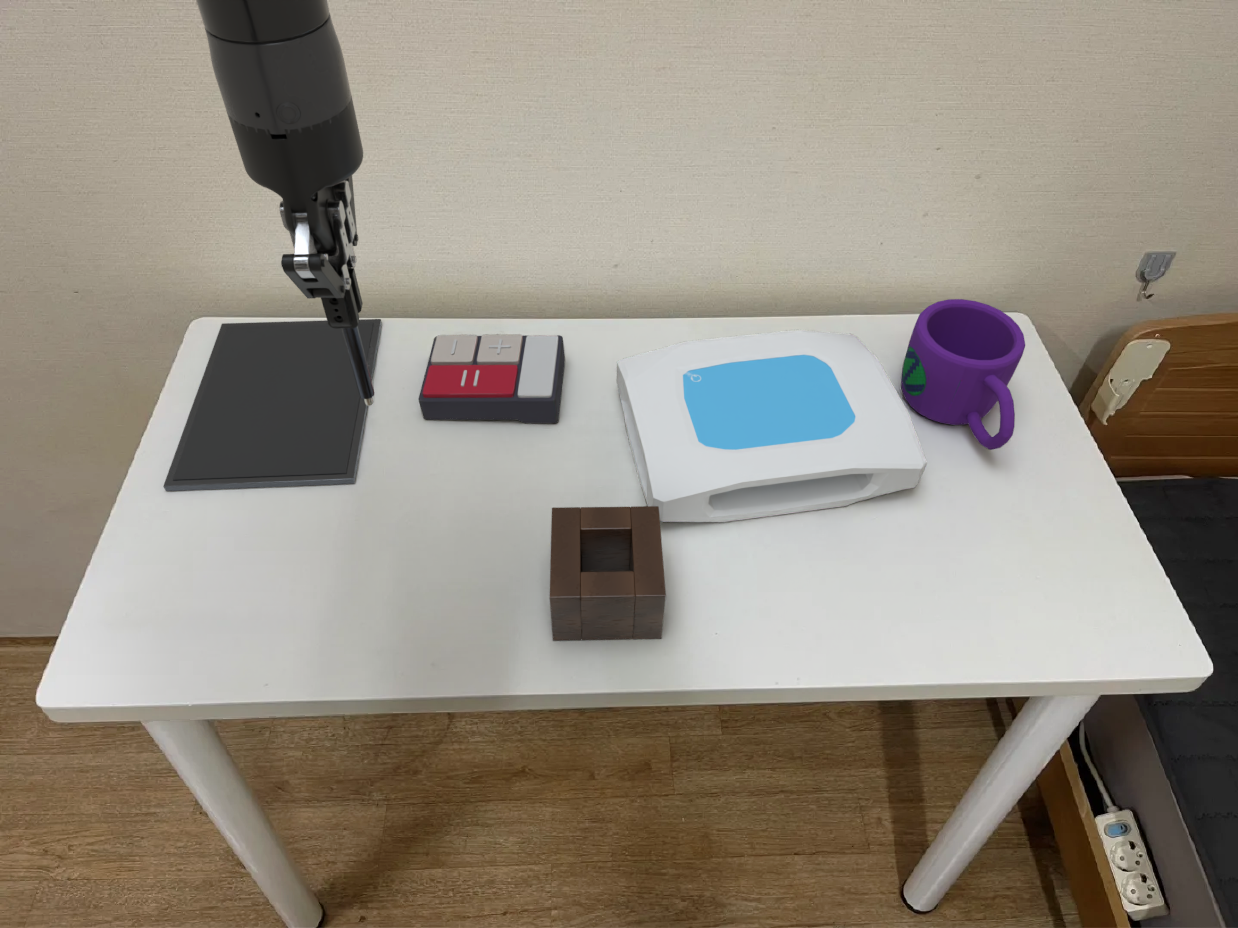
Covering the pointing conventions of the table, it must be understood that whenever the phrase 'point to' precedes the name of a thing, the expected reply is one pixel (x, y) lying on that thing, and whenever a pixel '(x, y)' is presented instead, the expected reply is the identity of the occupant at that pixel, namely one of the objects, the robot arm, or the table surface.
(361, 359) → the stylus
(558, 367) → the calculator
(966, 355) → the mug
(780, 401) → the document scanner
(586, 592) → the pen stand
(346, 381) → the tablet
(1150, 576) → the table surface
